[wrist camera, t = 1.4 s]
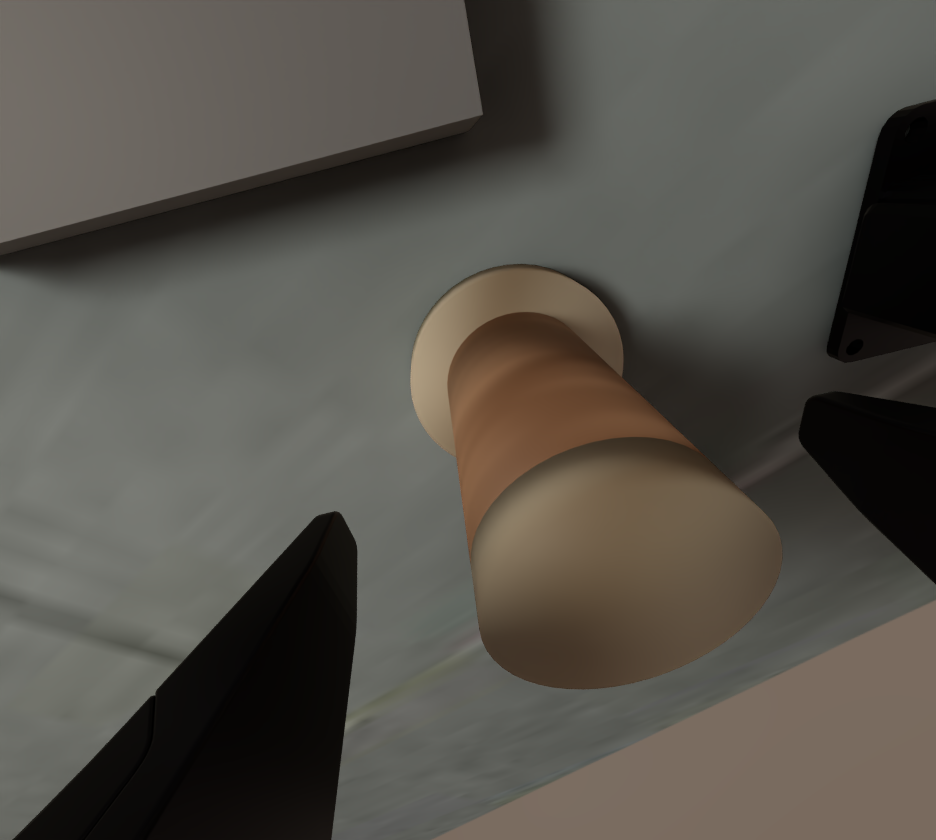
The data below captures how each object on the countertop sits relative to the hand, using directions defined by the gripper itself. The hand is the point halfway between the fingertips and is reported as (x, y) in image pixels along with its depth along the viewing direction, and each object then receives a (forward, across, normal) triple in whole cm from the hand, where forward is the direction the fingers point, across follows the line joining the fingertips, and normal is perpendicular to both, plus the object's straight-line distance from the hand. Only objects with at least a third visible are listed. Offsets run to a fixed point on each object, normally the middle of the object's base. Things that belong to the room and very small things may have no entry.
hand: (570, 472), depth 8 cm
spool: (+5, 0, 0) cm, 5 cm away
